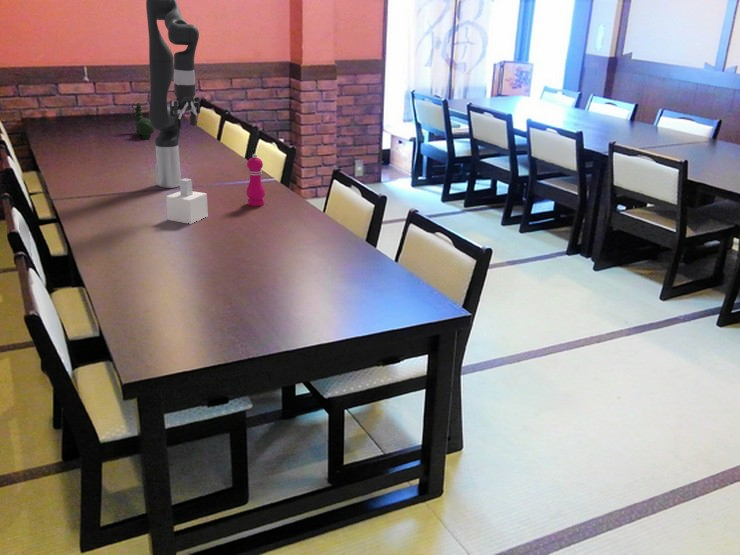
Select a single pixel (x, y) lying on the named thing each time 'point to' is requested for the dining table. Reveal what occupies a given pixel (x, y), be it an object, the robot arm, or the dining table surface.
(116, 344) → the dining table surface
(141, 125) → the toy figurine
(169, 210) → the white cube bottle
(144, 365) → the dining table surface
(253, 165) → the pepper mill
